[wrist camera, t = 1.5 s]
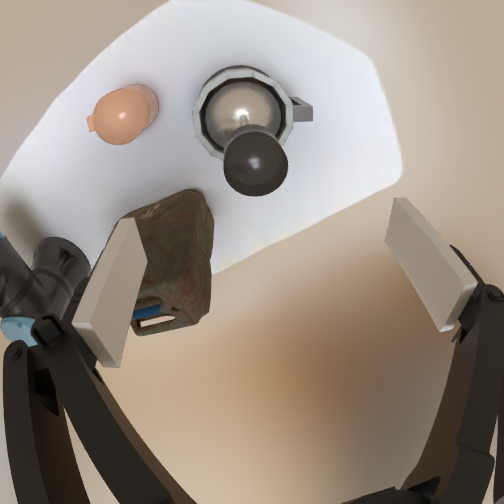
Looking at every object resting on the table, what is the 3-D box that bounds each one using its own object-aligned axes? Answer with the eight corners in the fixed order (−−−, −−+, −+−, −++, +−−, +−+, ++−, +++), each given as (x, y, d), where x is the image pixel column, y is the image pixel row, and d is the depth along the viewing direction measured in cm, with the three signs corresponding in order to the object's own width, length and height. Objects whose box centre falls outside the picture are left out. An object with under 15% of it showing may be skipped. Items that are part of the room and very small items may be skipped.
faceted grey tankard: (203, 144, 48) (196, 172, 37) (194, 70, 40) (183, 73, 29) (294, 137, 48) (314, 162, 38) (292, 63, 40) (314, 65, 30)
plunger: (209, 154, 37) (198, 230, 22) (201, 85, 31) (178, 110, 17) (281, 148, 37) (318, 219, 23) (278, 79, 32) (322, 100, 17)
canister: (200, 182, 52) (185, 277, 32) (217, 220, 57) (215, 324, 37) (114, 217, 54) (67, 313, 34) (135, 249, 59) (103, 348, 39)
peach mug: (110, 135, 44) (89, 152, 37) (101, 92, 40) (78, 101, 32) (162, 124, 45) (149, 139, 37) (155, 79, 40) (140, 84, 33)
